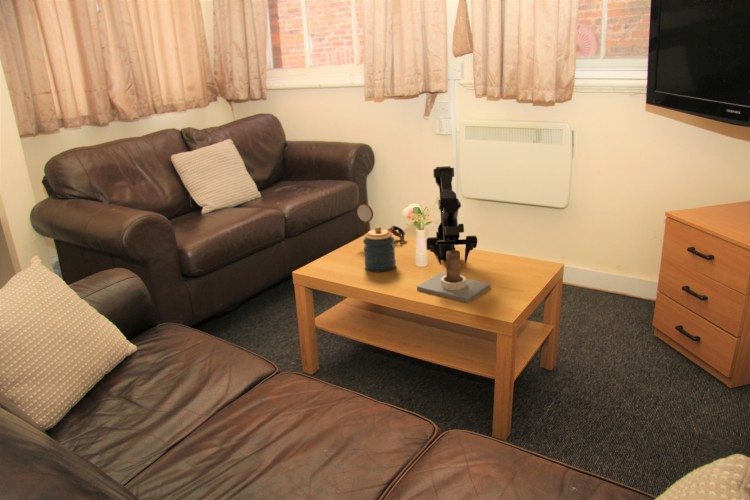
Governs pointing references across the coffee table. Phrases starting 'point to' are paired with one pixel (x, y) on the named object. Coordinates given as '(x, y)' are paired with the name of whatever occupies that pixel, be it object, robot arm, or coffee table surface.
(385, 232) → the canister
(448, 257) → the walnut column
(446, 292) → the base board
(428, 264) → the coffee table surface
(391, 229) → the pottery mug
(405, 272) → the coffee table surface
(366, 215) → the magnifying glass
